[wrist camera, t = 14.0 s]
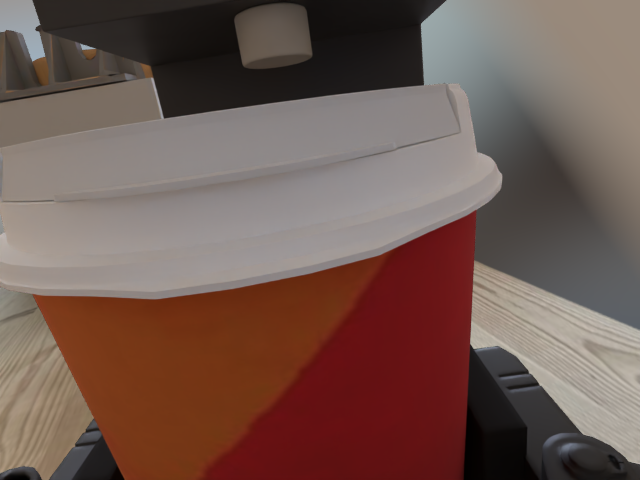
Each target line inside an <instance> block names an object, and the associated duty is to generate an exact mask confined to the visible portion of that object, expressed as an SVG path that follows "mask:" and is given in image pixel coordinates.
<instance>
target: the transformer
mask: <svg viewBox="0 0 640 480" xmlns="http://www.w3.org/2000/svg"><path fill="white" fill-rule="evenodd" d="M35 30H36V31H39V32H40V36H41V40H42V44H43V48H44V52H45V56H46V57H43V58H39V59H37V60H35V61H33V62H32V60H31V58H30V54H29V52H28V49H27V46H26V43H25V40H24V37H23V35H22V34H21V33H18V32H14V31H9V30H6V31H5V32H0V148H3V147H7V146H12V145H16V144H21V143H26V142H31V141H36V140H40V139H45V138H50V137H56V136H61V135H67V134H73V133H78V132H84V131H90V130H95V129H102V128H108V127H114V126H121V125H127V124H133V123H140V122H146V121H152V120H159V119H164V117H163V114H162V110H161V106H160V102H159V98H158V94H157V90H156V86H155V82H154V78H153V75H152V71H151V67H150V66H148V65H145V64H142V63H139V62H136V61H133V60H130V59H127V58H124V57H120V56H117V55H114V54H111V53H108V52H105V51H102V50H99V49H90V50H82V48H81V45H80V43H77V42H74V41H71V40H68V39H65V38H62V37H59V36H55V35H52V34H49V33H46V32H43V30H42V28H41V25H39V26H38V27H36V29H35Z"/></svg>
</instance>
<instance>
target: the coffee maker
mask: <svg viewBox="0 0 640 480" xmlns="http://www.w3.org/2000/svg"><path fill="white" fill-rule="evenodd" d="M445 1H446V0H33V3H34V6H35V9H36V12H37V15H38V18H39V21H40V24H41V28H42V30H43V32H46V33H49V34H52V35H55V36H59V37H62V38H65V39H68V40H71V41H74V42H77V43H80V44H83V45H87V46H90V47H93V48H96V49H99V50H102V51H105V52H108V53H111V54H114V55H117V56H120V57H124V58H127V59H130V60H133V61H136V62H139V63H142V64H145V65H148V66H150V67H151V71H152V75H153V78H154V82H155V86H156V90H157V94H158V98H159V102H160V106H161V110H162V114H163V117H164V119H166V118H173V117H179V116H186V115H193V114H200V113H206V112H213V111H220V110H228V109H235V108H242V107H249V106H256V105H263V104H270V103H278V102H285V101H293V100H300V99H308V98H316V97H323V96H331V95H339V94H348V93H356V92H365V91H373V90H382V89H392V88H402V87H412V86H423V85H424V78H423V60H422V40H421V23H422V22H423V21H424V20H425V19H426V18H427V17H428V16H430V15H431V14H432V13H433V12H434V11H435V10H436V9H437V8H438V7H440V6H441V5H442V4H443V3H444V2H445Z"/></svg>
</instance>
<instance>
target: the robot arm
mask: <svg viewBox="0 0 640 480" xmlns="http://www.w3.org/2000/svg"><path fill="white" fill-rule="evenodd" d="M0 480H42V479H41V477H40V475H39V473H38V472H37V471H36V470H35V468H33V467H25V466H23V467H18V468H14V469H10V470H7V471H5V472H3V473H1V474H0ZM49 480H125V479H124V477H123V475H122V473H121V471H120V469H119V467H118V465H117V463H116V461H115V459H114V457H113V455H112V453H111V451H110V449H109V447H108V445H107V443H106V441H105V439H104V437H103V435H102V433H101V431H100V429H99V427H98V425H97V423H96V421H95V419H93V420H92V422H91V423H90V425H89V426H88V427H87V429H86V432H85V433H83V434H82V435H81V437H80V438H79V439H78V441H77V442H76V444H75V447H73V448H72V449H71V450H70V452H69V453H68V454H67V456H66V457H65V458H64V460H63V461H62V463H61V464H60V465H59V467H58V468H57V469H56V471H55V472H54V473H53V475H52V476H51V477H50V479H49ZM464 480H640V464H636V463H631V462H628V461H627V459H626V458H625V457H624V456H623V455H621V454H620V453H619V452H618V451H616V450H615V449H614V448H613V447H611V446H610V445H608V444H606V443H604V442H602V441H600V440H598V439H596V438H593V437H590V436H586V435H583V434H582V433H581V432H580V431H579V430H578V428H577V427H576V426H575V425H574V424H573V423H572V421H571V420H570V419H569V418H568V417H567V416H566V414H565V413H564V412H563V411H562V410H561V409H560V407H559V406H558V405H557V404H556V403H555V402H554V400H553V399H552V398H551V397H550V396H549V394H548V393H547V392H546V391H545V390H544V389H543V387H542V386H539V383H538V382H537V380H536V379H535V378H534V377H533V376H532V375H531V374H529V372H528V370H527V369H526V368H525V366H524V365H523V364H522V363H521V362H520V361H519V359H518V358H517V357H516V356H514V355H512V354H511V353H509V352H507V351H506V350H504V349H502V348H501V347H499V346H495V347H487V348H479V349H473V348H472V346H471V345H470V355H469V376H468V397H467V418H466V439H465V461H464Z"/></svg>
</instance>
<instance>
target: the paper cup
mask: <svg viewBox="0 0 640 480" xmlns="http://www.w3.org/2000/svg"><path fill="white" fill-rule="evenodd" d="M501 183H502V174H501V173H500V172H499V170H498V168H497V165H496V163H495V162H494V161H493V160H492V159H491V157H488V156H486V155H484V154H481V153H477V150H476V143H475V137H474V131H473V125H472V120H471V113H470V108H469V102H468V98H467V95H466V93H465V92H464V91H463V90H462V89H461V88H460V84H434V85H423V86H412V87H402V88H392V89H382V90H373V91H365V92H356V93H348V94H339V95H331V96H323V97H316V98H308V99H300V100H293V101H285V102H278V103H270V104H263V105H256V106H249V107H242V108H235V109H228V110H220V111H213V112H206V113H200V114H193V115H186V116H179V117H173V118H166V119H159V120H152V121H146V122H140V123H133V124H127V125H121V126H114V127H108V128H102V129H95V130H90V131H84V132H78V133H73V134H67V135H61V136H56V137H50V138H45V139H40V140H36V141H31V142H26V143H21V144H16V145H12V146H7V147H3V148H0V214H1V218H2V222H3V227H4V231H5V232H4V233H2V234H1V235H0V287H2V288H4V289H7V290H9V291H16V292H22V293H29V294H33V296H34V298H35V300H36V303H37V305H38V307H39V309H40V311H41V313H42V315H43V317H44V319H45V321H46V323H47V325H48V327H49V329H50V331H51V333H52V335H53V337H54V339H55V341H56V343H57V345H58V347H59V349H60V351H61V353H62V355H63V357H64V359H65V361H66V363H67V365H68V367H69V369H70V371H71V373H72V375H73V377H74V379H75V381H76V383H77V385H78V387H79V389H80V391H81V393H82V395H83V397H84V399H85V401H86V403H87V405H88V407H89V409H90V411H91V413H92V415H93V417H94V419H95V421H96V423H97V425H98V427H99V429H100V431H101V433H102V435H103V437H104V439H105V441H106V443H107V445H108V447H109V449H110V451H111V453H112V455H113V457H114V459H115V461H116V463H117V465H118V467H119V469H120V471H121V473H122V475H123V477H124V479H125V480H464V461H465V439H466V418H467V397H468V376H469V355H470V334H471V313H472V292H473V271H474V251H475V230H476V209H478V208H479V207H481V206H483V205H484V204H486V203H488V202H489V201H490V200H491V199H492V198H493V197H494V196H495V195H496V194H497V193H498V192H499V190H500V189H501Z"/></svg>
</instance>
